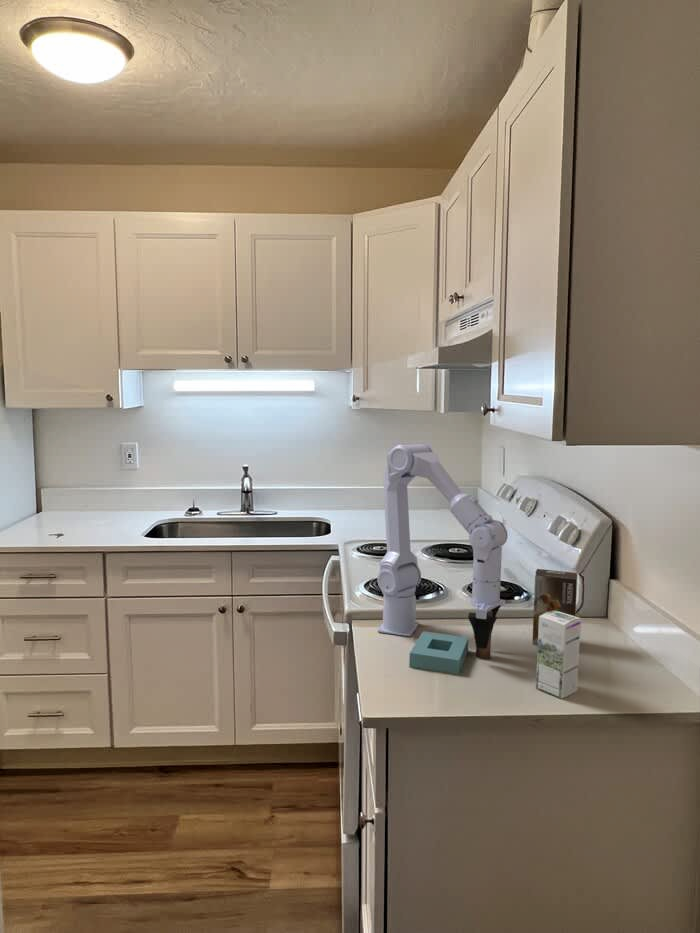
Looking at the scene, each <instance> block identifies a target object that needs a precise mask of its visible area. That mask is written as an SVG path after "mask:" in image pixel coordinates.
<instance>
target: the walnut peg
mask: <svg viewBox="0 0 700 933" xmlns="http://www.w3.org/2000/svg"><path fill="white" fill-rule="evenodd" d="M487 615H488V616H489V617H492V611H491V610H490V611H488V612H487ZM491 631H492V632H493V630H492V629H491ZM475 647H476V646H475ZM491 648H492V633H491V632H490V637H489V642H488V646H487V648H486V649H483V648H477V647H476V648H475V650H476V652H475V657H476V658H477V659H479V660H489V659H491V652H492V649H491Z"/></svg>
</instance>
